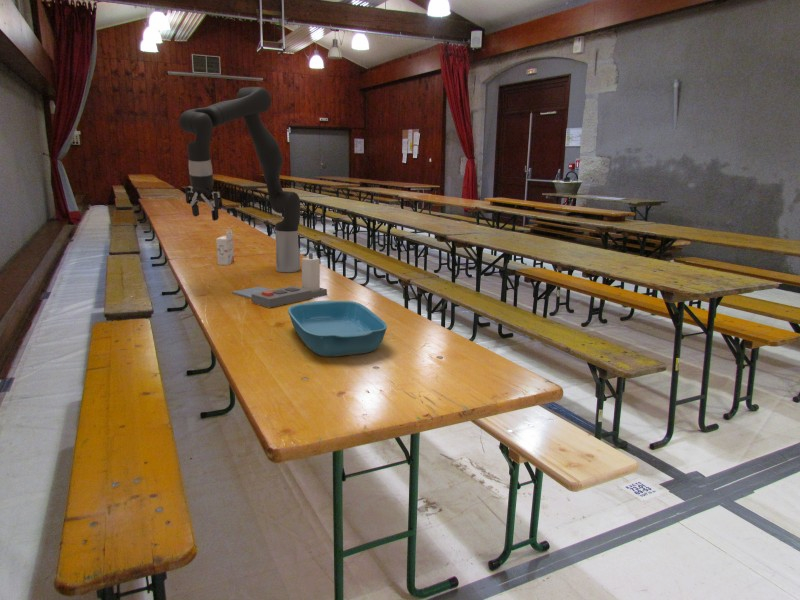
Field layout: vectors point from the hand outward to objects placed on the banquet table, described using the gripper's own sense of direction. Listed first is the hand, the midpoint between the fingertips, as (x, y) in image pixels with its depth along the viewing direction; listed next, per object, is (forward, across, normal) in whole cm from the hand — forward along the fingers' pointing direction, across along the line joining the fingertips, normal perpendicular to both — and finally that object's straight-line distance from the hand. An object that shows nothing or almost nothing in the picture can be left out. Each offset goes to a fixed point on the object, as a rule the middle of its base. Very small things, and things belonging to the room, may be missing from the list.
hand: (205, 217), depth 201 cm
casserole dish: (+13, -72, +32) cm, 80 cm away
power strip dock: (+22, -37, +2) cm, 43 cm away
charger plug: (+23, -40, -6) cm, 46 cm away
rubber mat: (+23, -23, +3) cm, 32 cm away
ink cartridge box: (+35, +23, -33) cm, 53 cm away
